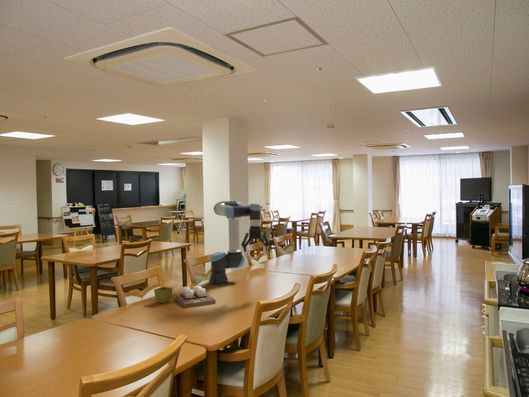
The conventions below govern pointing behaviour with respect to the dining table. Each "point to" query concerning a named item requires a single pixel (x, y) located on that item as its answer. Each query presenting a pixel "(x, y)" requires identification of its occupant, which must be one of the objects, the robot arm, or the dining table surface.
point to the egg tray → (195, 300)
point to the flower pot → (163, 294)
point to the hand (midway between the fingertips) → (255, 255)
